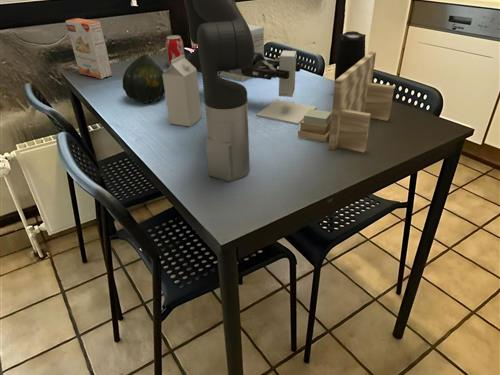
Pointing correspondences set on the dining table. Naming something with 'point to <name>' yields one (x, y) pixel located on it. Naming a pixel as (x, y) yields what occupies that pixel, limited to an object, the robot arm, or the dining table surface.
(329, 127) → the oak offcut
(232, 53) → the robot arm
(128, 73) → the squash
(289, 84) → the skincare box
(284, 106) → the beige mat
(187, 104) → the milk carton
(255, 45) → the supplement box
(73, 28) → the cracker box
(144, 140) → the dining table surface
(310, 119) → the sage offcut
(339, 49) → the portable speaker
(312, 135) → the pine offcut
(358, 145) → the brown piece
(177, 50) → the soda can
